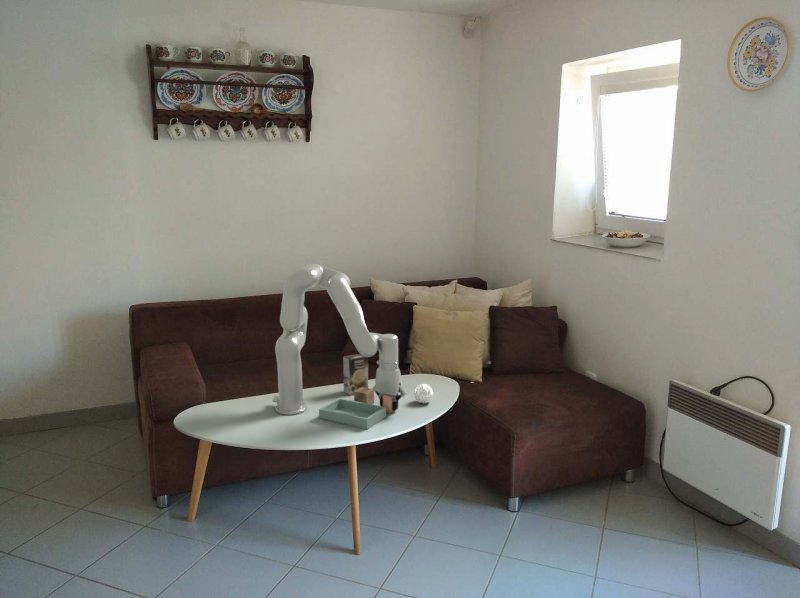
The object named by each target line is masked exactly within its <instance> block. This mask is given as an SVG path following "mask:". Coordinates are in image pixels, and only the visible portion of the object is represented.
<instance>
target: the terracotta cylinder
mask: <svg viewBox="0 0 800 598" xmlns="http://www.w3.org/2000/svg"><path fill="white" fill-rule="evenodd" d="M393 401H394V400H393V396H392V395H388V394H383V407H386V414H393V413H395V412H396V410H395V411H393V410H392V402H393Z"/></svg>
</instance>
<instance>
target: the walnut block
mask: <svg viewBox="0 0 800 598" xmlns="http://www.w3.org/2000/svg"><path fill="white" fill-rule="evenodd" d="M353 401H357V402H362V403H367V404H372V405H374V404H375V392H374V390H373V389H372V388H369V387H368V388H364V387H361V388H359V389H357V390H356V391H354V395H353Z"/></svg>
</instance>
